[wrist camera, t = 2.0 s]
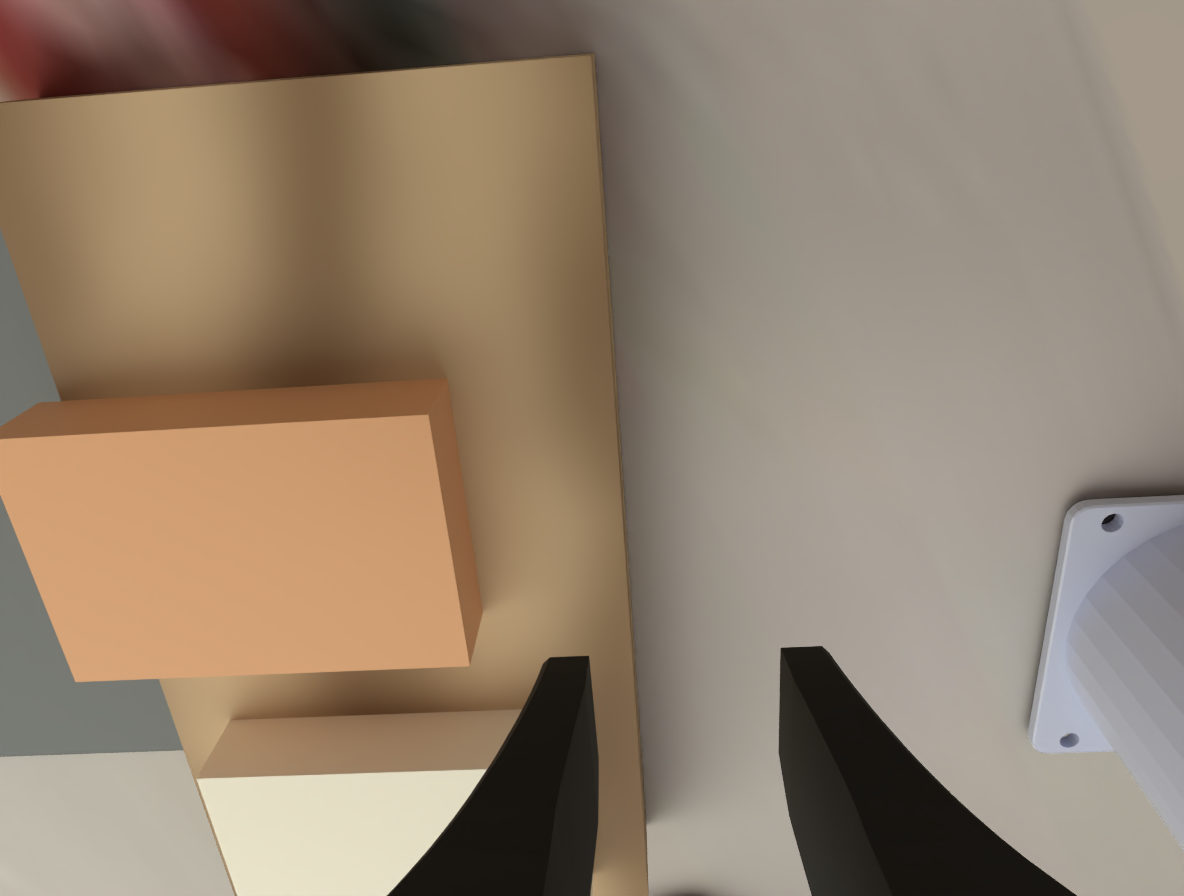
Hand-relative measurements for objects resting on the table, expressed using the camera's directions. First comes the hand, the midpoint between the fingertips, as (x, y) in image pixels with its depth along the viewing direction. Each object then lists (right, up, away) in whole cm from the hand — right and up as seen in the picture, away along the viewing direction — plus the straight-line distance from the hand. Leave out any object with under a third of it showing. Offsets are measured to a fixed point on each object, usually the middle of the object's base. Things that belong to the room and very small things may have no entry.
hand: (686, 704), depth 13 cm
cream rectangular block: (-6, -6, +10) cm, 13 cm away
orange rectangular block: (-9, +2, +7) cm, 11 cm away
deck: (-7, +2, +10) cm, 12 cm away
